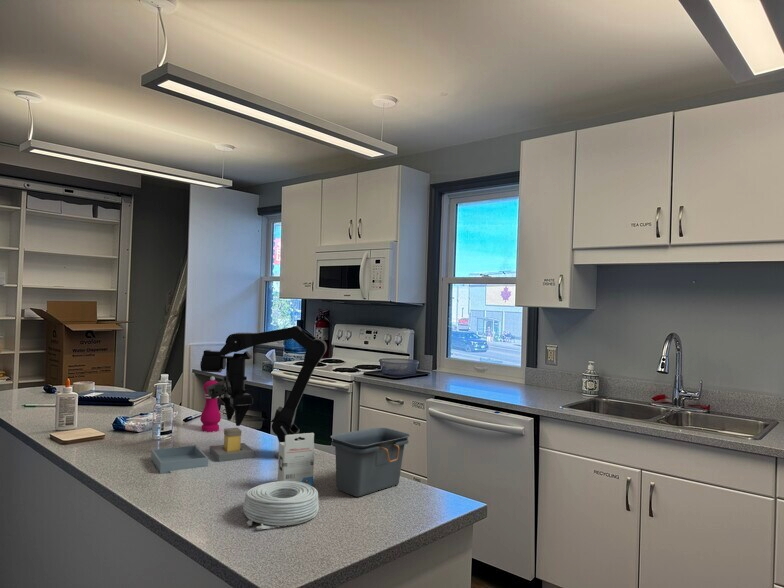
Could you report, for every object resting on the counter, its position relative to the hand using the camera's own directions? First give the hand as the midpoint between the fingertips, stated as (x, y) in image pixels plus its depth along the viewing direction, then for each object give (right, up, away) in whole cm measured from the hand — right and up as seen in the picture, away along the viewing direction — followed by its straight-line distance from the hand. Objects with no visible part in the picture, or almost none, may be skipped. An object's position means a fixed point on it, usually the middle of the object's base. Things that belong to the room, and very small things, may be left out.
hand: (233, 422), depth 176 cm
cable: (+24, -12, -44) cm, 52 cm away
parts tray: (-14, -10, -10) cm, 19 cm away
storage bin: (+44, -13, -24) cm, 52 cm away
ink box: (+24, -12, -25) cm, 36 cm away
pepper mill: (-18, -10, +33) cm, 39 cm away
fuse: (-1, -10, 0) cm, 10 cm away
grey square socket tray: (-1, -11, 0) cm, 11 cm away
